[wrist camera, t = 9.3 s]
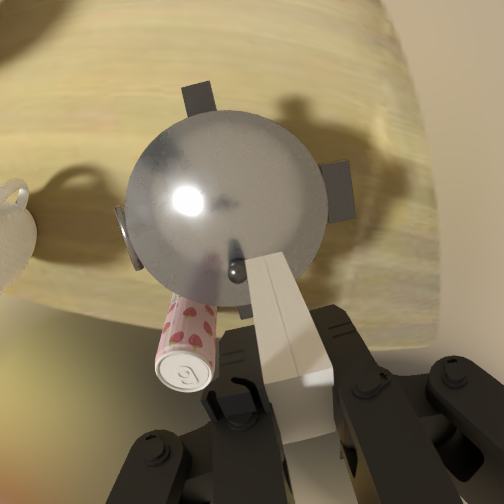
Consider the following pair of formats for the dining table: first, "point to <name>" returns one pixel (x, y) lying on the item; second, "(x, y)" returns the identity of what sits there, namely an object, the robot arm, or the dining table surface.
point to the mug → (15, 232)
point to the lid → (228, 204)
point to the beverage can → (187, 345)
